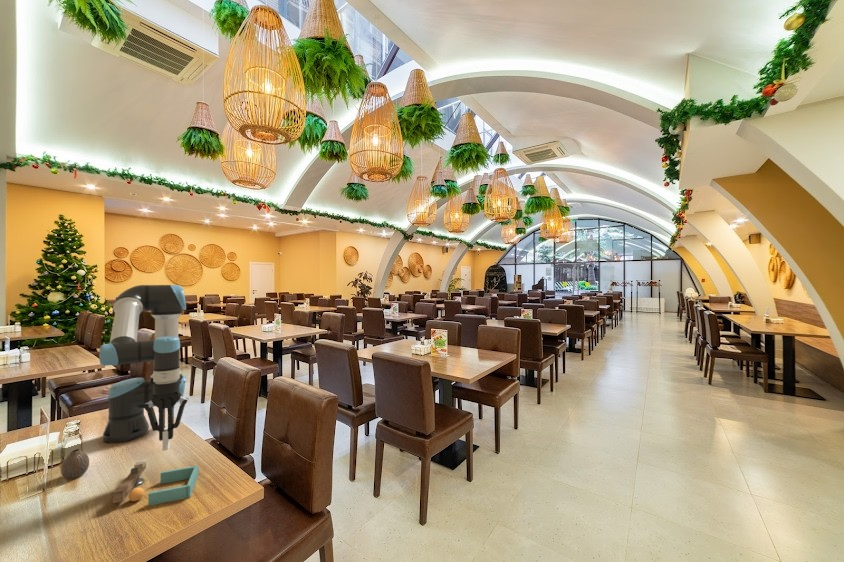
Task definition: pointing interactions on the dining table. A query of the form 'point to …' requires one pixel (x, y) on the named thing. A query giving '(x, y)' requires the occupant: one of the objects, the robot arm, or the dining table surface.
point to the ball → (136, 494)
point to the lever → (129, 482)
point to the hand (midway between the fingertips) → (166, 448)
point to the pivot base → (139, 482)
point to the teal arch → (175, 492)
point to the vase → (75, 464)
